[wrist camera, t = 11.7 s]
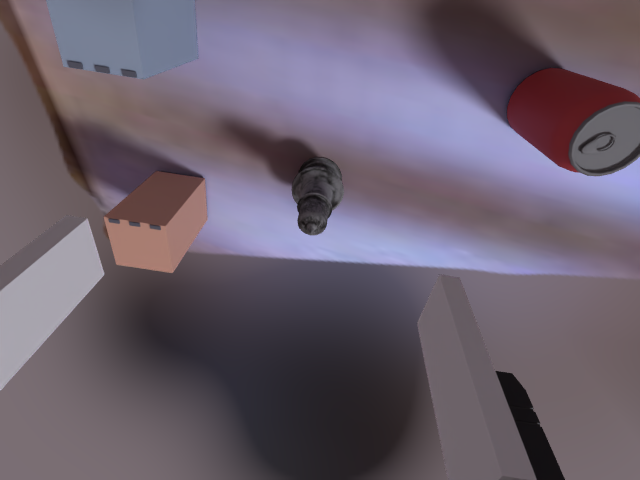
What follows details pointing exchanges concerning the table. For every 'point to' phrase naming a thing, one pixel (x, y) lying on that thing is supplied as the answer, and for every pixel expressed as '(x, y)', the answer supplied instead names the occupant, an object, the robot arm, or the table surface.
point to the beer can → (577, 121)
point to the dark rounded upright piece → (317, 193)
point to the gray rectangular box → (125, 35)
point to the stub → (158, 221)
